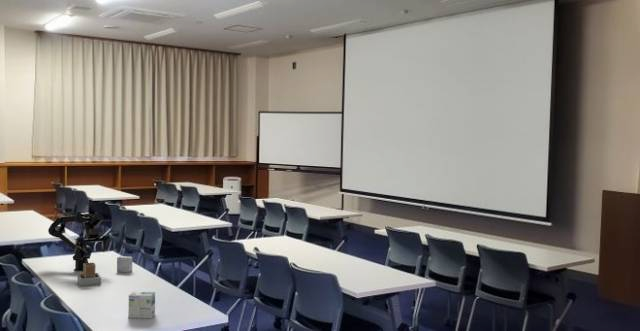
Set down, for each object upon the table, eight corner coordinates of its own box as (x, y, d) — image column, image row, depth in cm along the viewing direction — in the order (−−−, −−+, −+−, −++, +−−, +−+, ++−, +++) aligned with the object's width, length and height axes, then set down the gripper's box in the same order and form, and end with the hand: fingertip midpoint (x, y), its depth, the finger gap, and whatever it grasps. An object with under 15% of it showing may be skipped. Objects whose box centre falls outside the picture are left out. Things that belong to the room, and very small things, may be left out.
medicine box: (132, 270, 344) (132, 256, 343) (129, 272, 339) (129, 258, 339) (120, 270, 345) (120, 255, 344) (116, 271, 340) (116, 257, 340)
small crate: (83, 281, 314) (83, 263, 313) (93, 280, 317) (93, 262, 316) (84, 283, 309) (84, 265, 309) (95, 282, 312) (95, 264, 311)
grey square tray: (77, 281, 315) (77, 274, 315) (97, 279, 320) (97, 272, 320) (80, 286, 306) (80, 279, 306) (100, 284, 311) (100, 277, 311)
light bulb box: (155, 314, 264) (155, 291, 263) (151, 318, 257) (152, 295, 256) (132, 313, 263) (132, 290, 263) (127, 318, 257) (128, 294, 256)
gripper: (76, 223, 326) (81, 245, 318) (109, 221, 338) (115, 242, 330) (72, 235, 333) (77, 257, 325) (105, 232, 344) (110, 253, 336)
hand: (95, 252), depth 329 cm, fingers open, 9 cm apart
